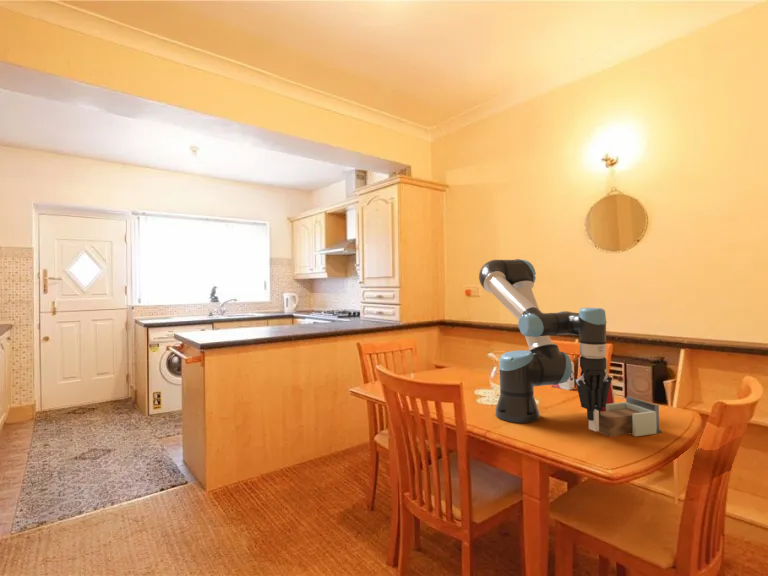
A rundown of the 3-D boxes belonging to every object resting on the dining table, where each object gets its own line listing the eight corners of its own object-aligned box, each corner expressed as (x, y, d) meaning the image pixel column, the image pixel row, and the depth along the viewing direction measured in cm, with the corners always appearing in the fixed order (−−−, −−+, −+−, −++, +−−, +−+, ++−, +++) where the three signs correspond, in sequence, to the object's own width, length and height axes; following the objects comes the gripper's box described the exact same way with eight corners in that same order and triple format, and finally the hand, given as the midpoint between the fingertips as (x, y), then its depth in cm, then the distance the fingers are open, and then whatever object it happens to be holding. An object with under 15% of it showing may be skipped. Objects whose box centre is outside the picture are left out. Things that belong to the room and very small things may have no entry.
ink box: (551, 386, 189) (550, 361, 188) (557, 385, 191) (557, 360, 191) (568, 390, 182) (568, 364, 182) (574, 388, 185) (574, 362, 184)
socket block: (635, 436, 126) (635, 414, 126) (606, 423, 138) (605, 403, 138) (656, 433, 128) (656, 412, 128) (625, 421, 140) (625, 401, 139)
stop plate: (655, 433, 128) (654, 405, 128) (626, 422, 139) (626, 396, 139) (661, 432, 129) (661, 404, 129) (632, 421, 140) (632, 395, 140)
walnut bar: (609, 437, 127) (608, 418, 127) (595, 430, 133) (594, 412, 133) (645, 432, 130) (645, 413, 130) (630, 426, 136) (629, 408, 136)
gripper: (584, 359, 124) (585, 436, 124) (619, 356, 127) (619, 431, 128) (567, 355, 131) (568, 428, 131) (600, 353, 135) (601, 423, 135)
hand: (593, 429), depth 130 cm, fingers closed
